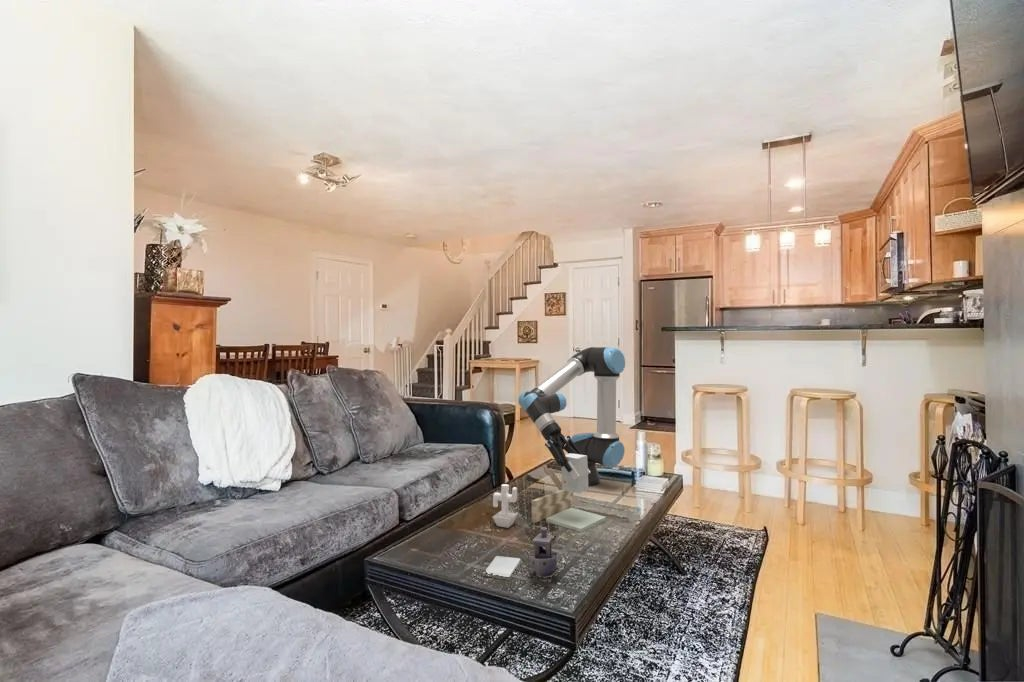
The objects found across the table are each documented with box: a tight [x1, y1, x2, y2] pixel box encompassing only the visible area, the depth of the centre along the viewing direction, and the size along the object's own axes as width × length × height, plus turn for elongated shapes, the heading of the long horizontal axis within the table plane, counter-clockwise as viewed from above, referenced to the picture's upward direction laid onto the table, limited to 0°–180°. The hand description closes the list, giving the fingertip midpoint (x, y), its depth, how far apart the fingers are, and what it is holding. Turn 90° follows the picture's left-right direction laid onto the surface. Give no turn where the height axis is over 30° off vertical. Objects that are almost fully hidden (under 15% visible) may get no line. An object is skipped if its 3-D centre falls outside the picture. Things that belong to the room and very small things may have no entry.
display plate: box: [545, 507, 607, 533], centre depth 192 cm, size 16×16×1 cm
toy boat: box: [528, 526, 560, 579], centre depth 148 cm, size 15×8×13 cm, turn 164°
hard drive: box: [485, 555, 522, 577], centre depth 152 cm, size 2×8×12 cm
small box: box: [560, 453, 589, 494], centre depth 191 cm, size 8×6×13 cm
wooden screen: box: [531, 489, 574, 524], centre depth 199 cm, size 24×2×8 cm, turn 137°
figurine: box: [491, 483, 518, 529], centre depth 188 cm, size 7×9×15 cm
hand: (582, 476), depth 189 cm, fingers closed on small box, 6 cm apart
